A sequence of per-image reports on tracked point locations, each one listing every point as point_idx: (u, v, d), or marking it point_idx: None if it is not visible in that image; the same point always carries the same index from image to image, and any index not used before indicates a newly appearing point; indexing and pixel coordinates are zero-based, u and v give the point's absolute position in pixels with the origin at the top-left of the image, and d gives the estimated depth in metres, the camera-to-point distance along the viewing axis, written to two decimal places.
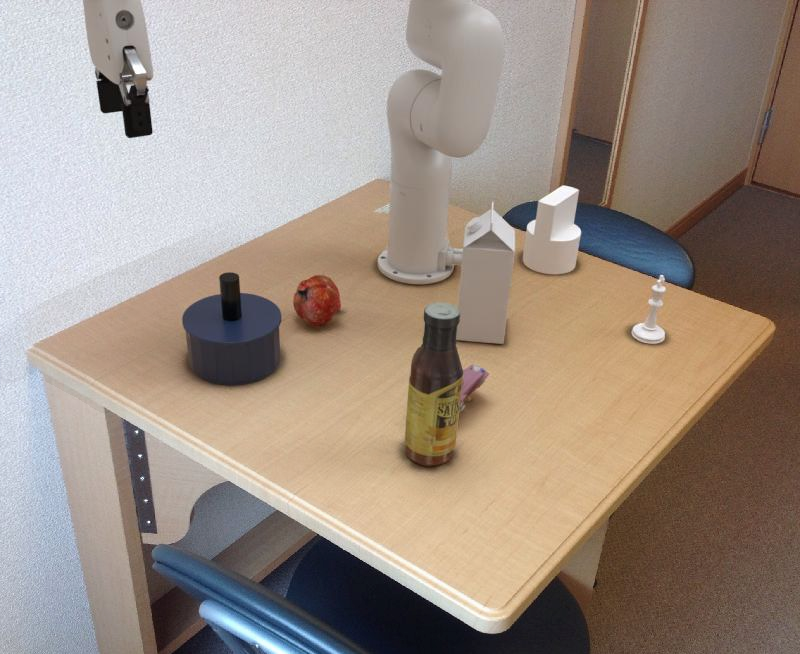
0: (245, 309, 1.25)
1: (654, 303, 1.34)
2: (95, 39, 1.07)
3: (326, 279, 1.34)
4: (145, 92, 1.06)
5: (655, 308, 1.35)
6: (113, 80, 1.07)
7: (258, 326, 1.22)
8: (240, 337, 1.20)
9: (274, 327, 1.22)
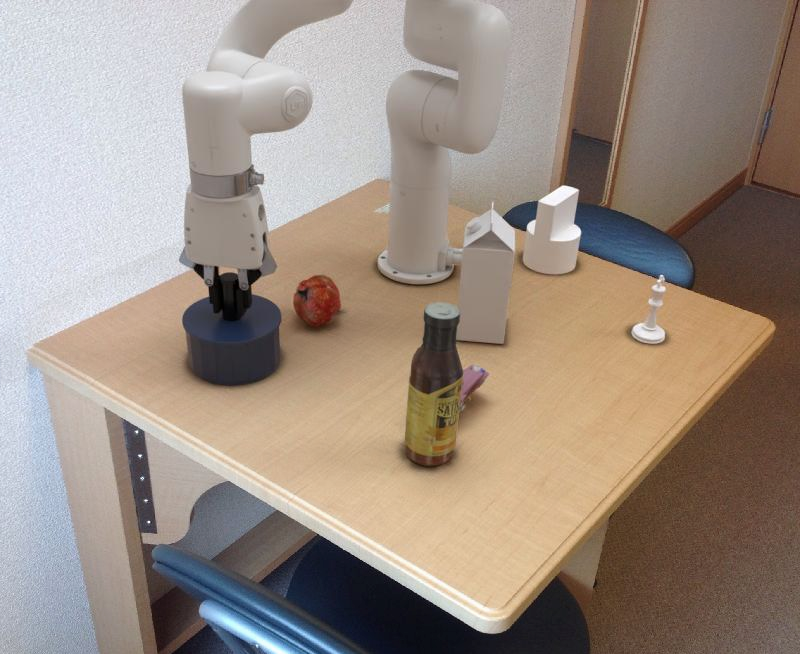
0: None
1: (654, 303, 1.34)
2: (223, 238, 1.14)
3: (326, 279, 1.34)
4: None
5: (655, 308, 1.35)
6: (253, 267, 1.17)
7: (258, 326, 1.22)
8: (240, 337, 1.20)
9: (274, 327, 1.22)
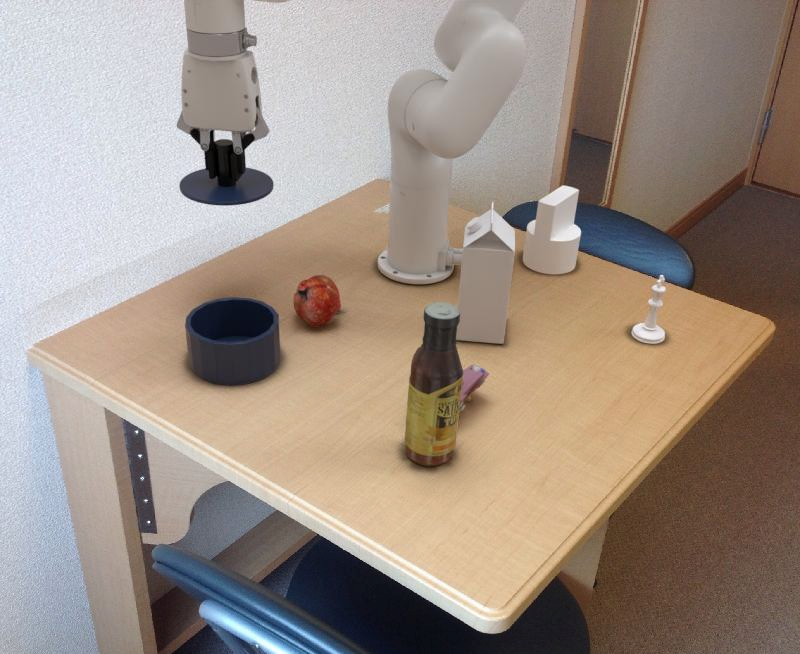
0: None
1: (654, 303, 1.34)
2: (219, 99, 1.21)
3: (326, 279, 1.34)
4: None
5: (655, 308, 1.35)
6: (247, 129, 1.24)
7: (251, 191, 1.29)
8: (234, 198, 1.27)
9: (266, 192, 1.29)
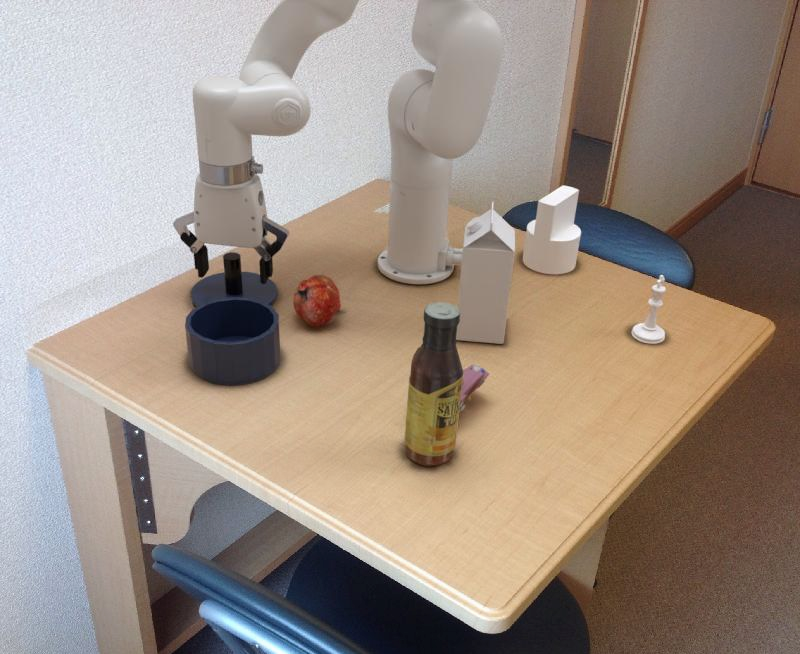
0: (246, 285, 1.43)
1: (654, 303, 1.34)
2: (228, 220, 1.32)
3: (326, 279, 1.34)
4: None
5: (655, 308, 1.35)
6: (254, 245, 1.34)
7: (257, 299, 1.39)
8: None
9: (271, 300, 1.39)
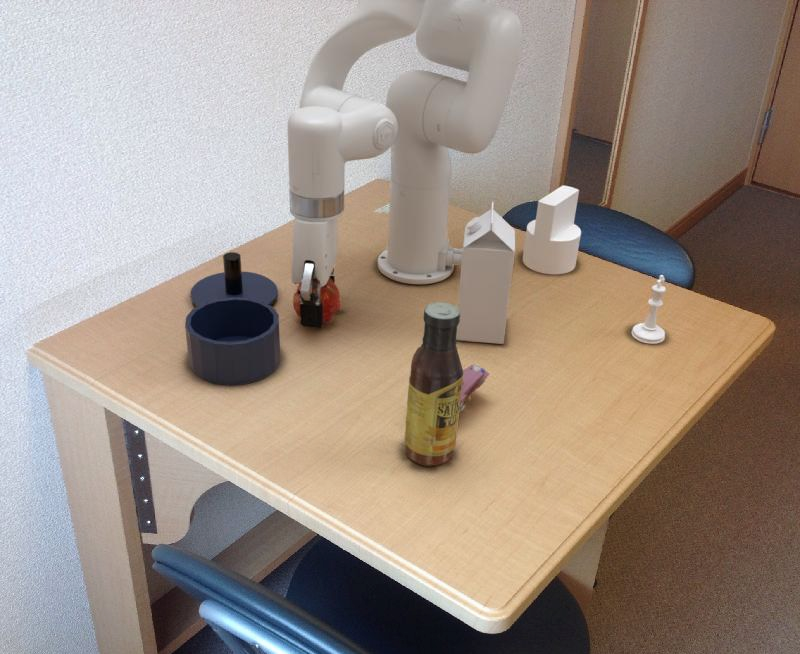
0: (246, 285, 1.43)
1: (654, 303, 1.34)
2: (335, 245, 1.30)
3: None
4: None
5: (655, 308, 1.35)
6: (336, 258, 1.35)
7: (257, 299, 1.39)
8: None
9: (271, 300, 1.39)
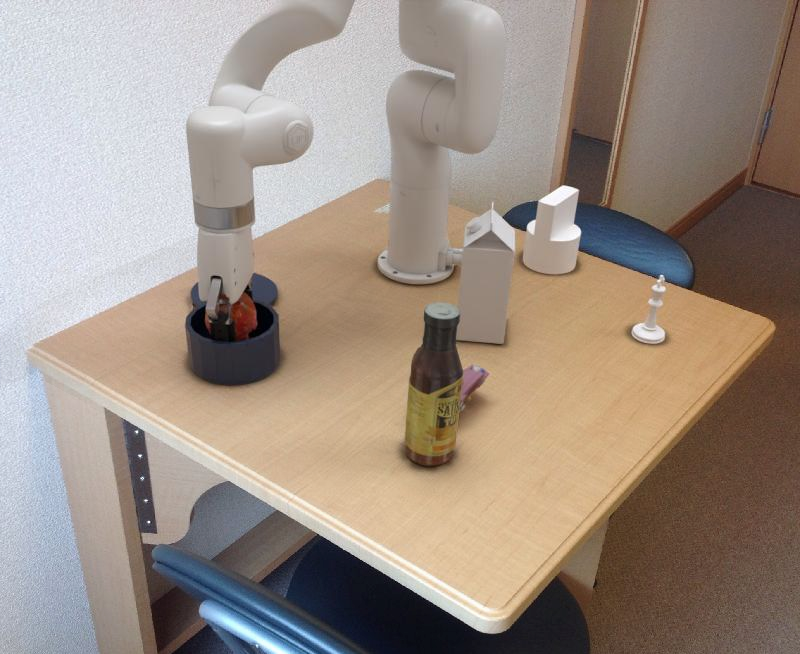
0: None
1: (654, 303, 1.34)
2: (247, 258, 1.19)
3: None
4: None
5: (655, 308, 1.35)
6: (252, 272, 1.24)
7: (257, 299, 1.39)
8: None
9: (271, 300, 1.39)
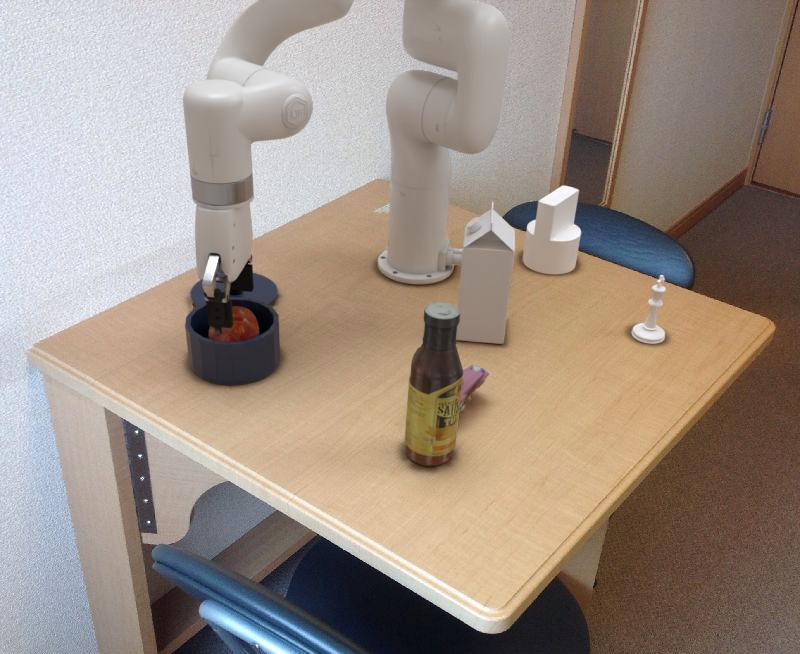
0: None
1: (654, 303, 1.34)
2: (246, 236, 1.17)
3: (243, 311, 1.24)
4: None
5: (655, 308, 1.35)
6: (251, 251, 1.22)
7: (257, 299, 1.39)
8: None
9: (271, 300, 1.39)
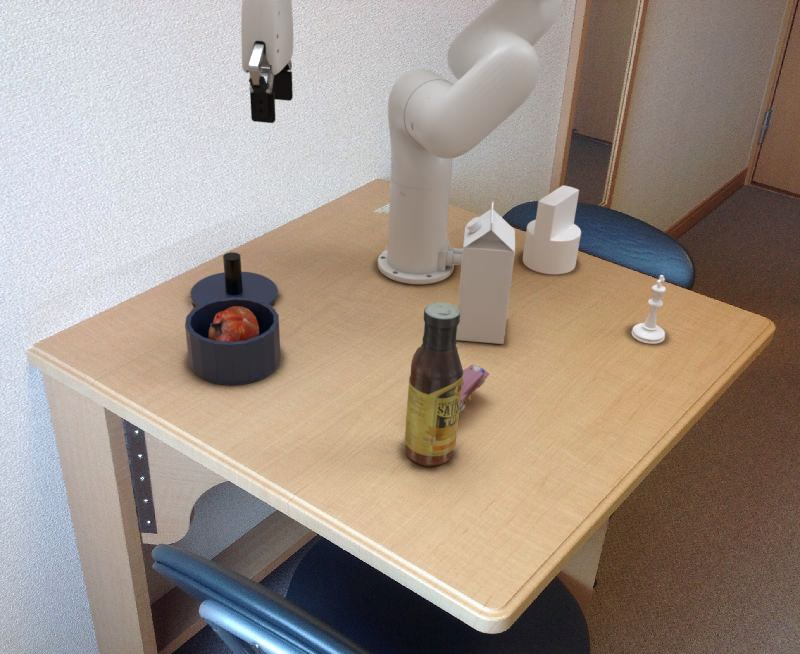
0: (246, 285, 1.43)
1: (654, 303, 1.34)
2: (288, 32, 1.22)
3: (243, 311, 1.24)
4: None
5: (655, 308, 1.35)
6: (292, 54, 1.27)
7: (257, 299, 1.39)
8: None
9: (271, 300, 1.39)
